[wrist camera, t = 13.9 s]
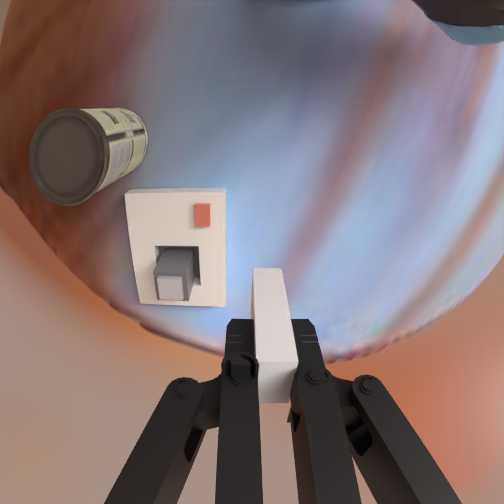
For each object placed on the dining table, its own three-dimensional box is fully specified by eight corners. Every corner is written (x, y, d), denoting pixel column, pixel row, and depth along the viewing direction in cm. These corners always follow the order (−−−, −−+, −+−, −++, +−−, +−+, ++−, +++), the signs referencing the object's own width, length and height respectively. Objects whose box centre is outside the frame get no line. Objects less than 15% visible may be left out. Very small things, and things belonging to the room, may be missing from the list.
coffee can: (80, 169, 38) (25, 195, 25) (93, 103, 34) (36, 103, 21) (139, 184, 40) (98, 217, 27) (157, 114, 36) (116, 115, 23)
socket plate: (130, 189, 40) (122, 195, 37) (226, 187, 41) (225, 193, 38) (144, 294, 48) (139, 306, 45) (226, 297, 48) (225, 309, 45)
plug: (165, 248, 44) (151, 274, 37) (194, 248, 44) (185, 275, 37) (167, 273, 46) (155, 303, 39) (195, 274, 46) (188, 304, 39)
